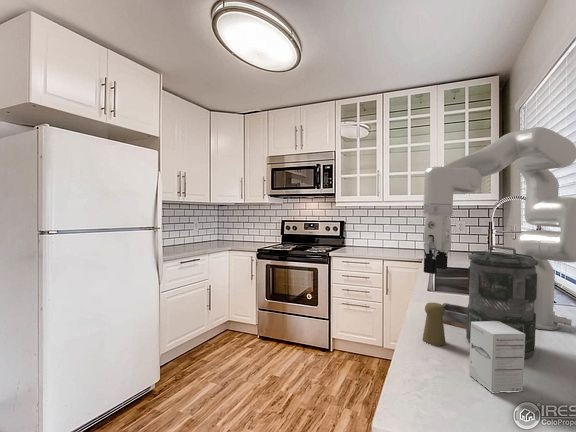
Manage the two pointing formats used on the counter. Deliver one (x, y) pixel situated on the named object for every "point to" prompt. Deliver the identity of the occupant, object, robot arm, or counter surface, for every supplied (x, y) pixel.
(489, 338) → the supplement box
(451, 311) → the grey square tray
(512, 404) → the counter surface
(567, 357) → the counter surface
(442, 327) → the olive tall flared cylinder
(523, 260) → the canister
